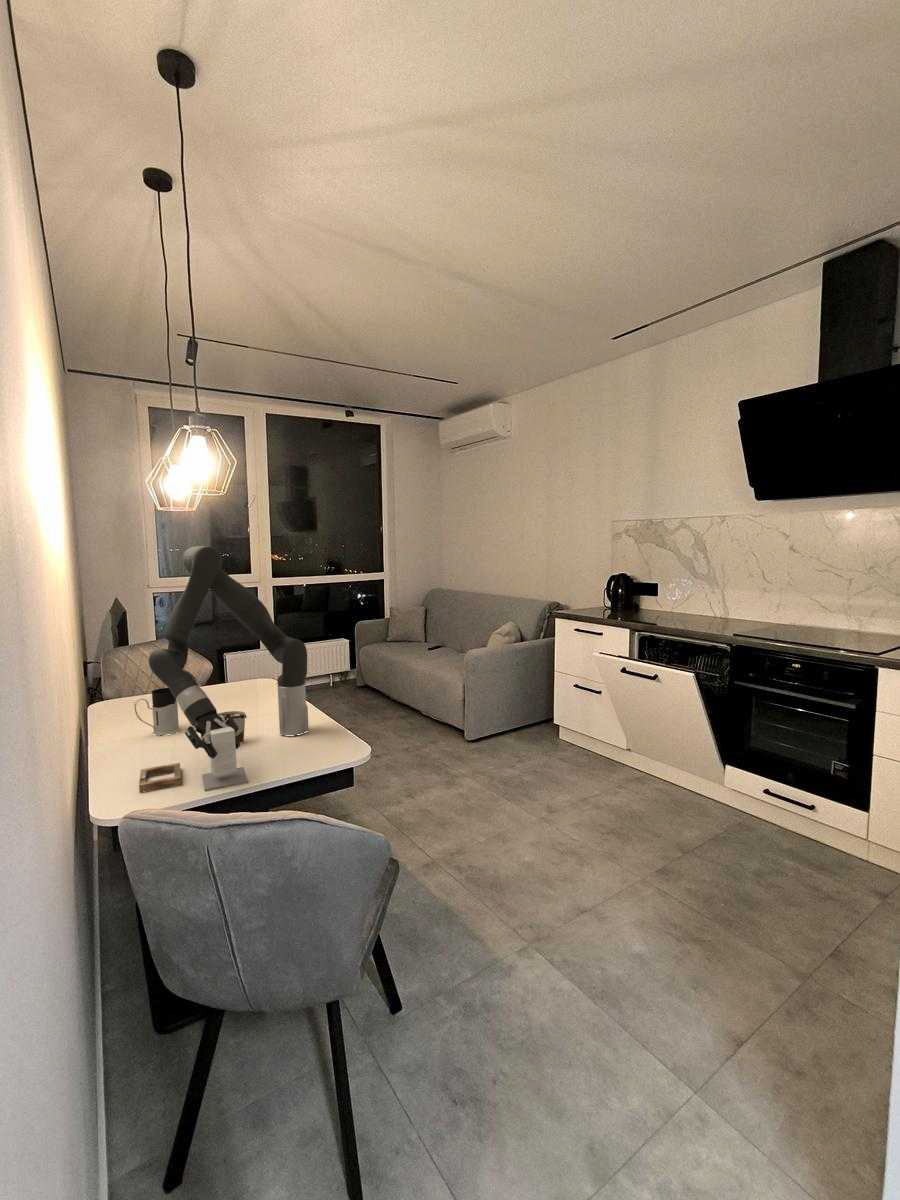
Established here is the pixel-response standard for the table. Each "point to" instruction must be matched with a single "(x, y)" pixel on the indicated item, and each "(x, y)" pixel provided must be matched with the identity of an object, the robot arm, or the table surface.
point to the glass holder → (163, 712)
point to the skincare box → (223, 751)
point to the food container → (237, 722)
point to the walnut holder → (162, 782)
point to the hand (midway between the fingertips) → (226, 751)
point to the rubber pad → (224, 779)
